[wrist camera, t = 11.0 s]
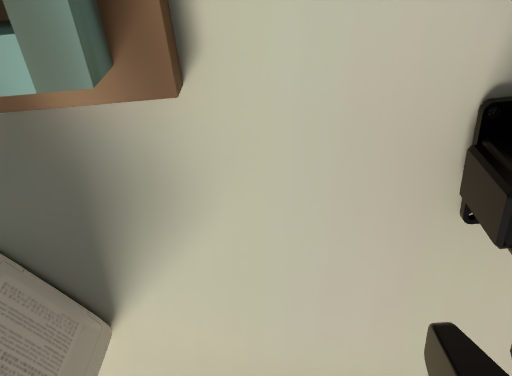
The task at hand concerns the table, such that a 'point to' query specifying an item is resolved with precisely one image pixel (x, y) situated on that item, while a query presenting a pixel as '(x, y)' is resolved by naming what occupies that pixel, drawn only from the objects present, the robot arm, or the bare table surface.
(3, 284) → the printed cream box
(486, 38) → the table surface
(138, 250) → the table surface
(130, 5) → the well board
